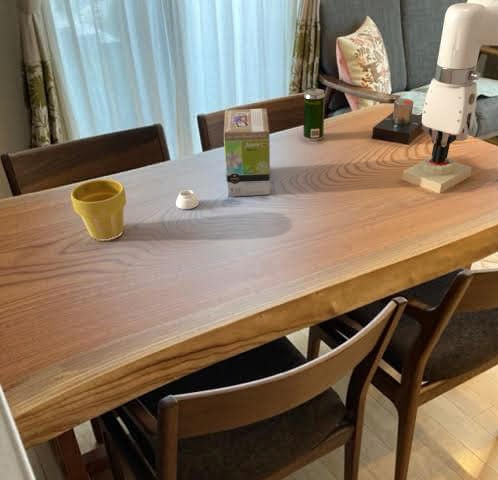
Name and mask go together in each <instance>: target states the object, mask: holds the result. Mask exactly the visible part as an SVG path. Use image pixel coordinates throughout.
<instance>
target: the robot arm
mask: <svg viewBox="0 0 498 480" xmlns="http://www.w3.org/2000/svg"><path fill="white" fill-rule="evenodd" d="M440 39H441V40H440V44H439V50H438V56H437V61H436V62H437V63H436V67H435V74H434V77H433V78H432V79H431V81H430V84H429V86H428V89H427V93H426V95H425V99H424V104H423V108H422V113H421V115H422V127H421V128H422V129H423V130H424V131H423V132H426V133H428V135H429V137H430V138H431V143H432V150H431V156H432V162H436V163H437V164H439V163H440V162H442V161H444V160H446V158H447V157H448V156H449V150H450V146H451V144H453V143H454V142H463V141H465V140H467V139H468V138H469V137H468V136H469V135H468V134H469V133H468V132H469V131H470V130H472V128H473V125H474V120H475V115H476V108H477V98H478V88H477V87H478V85H477V82H476V81H478V80H479V79H480V78H481V73H480V72H478V71H477V68H478V67H477V64H478V60H479V54H480V49H481V47H482V46H496V47H498V0H467V1H466V2H460V3H459V2H458V3H454V4H452V5H450V6H449V7H447V10H446V11H445V14H444V20H443V26H442V31H441V38H440ZM475 80H476V81H475Z"/></svg>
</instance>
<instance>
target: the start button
mask: <svg viewBox="0 0 498 480" xmlns="http://www.w3.org/2000/svg"><path fill="white" fill-rule="evenodd" d="M447 162H448V161H447V160H444V161H442V162H440V163H439V164H437V163H436V162H432V159H431V164H434V165H440V166H442V165H447Z"/></svg>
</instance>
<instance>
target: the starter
mask: <svg viewBox="0 0 498 480" xmlns="http://www.w3.org/2000/svg"><path fill="white" fill-rule="evenodd" d="M431 159H432V155H431V156H427V157H425V158H424V159H423V161H420V162H419V163H417V164H415V165H413V166H410V167H408V168H407V169H404V170H403V171H402V177H401V181H404V182H407V183H410V184H412V185H415V186H418V187H420V188H423V189H426V190H428V191H430V192H435V193H436V194H441V193H443V192H445V191H446V190H448V189H450V188H452V187H454V186H455V185H457V184H459V183H461V182H463V181H464V180H466V179H468V178H470V177H471V175H472V170H473V167H472V166H469V165H466V164H462V163H460V162H456V161H455V160H453V159H452V158H451V157H448V156H447V158H446V160H447V161H448V162H447V165H442V166H440V165H434V164H431Z"/></svg>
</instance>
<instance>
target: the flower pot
mask: <svg viewBox="0 0 498 480" xmlns="http://www.w3.org/2000/svg"><path fill="white" fill-rule="evenodd" d="M70 199H71V204H72V206H73V209H74V211H75V212H76V214H77V215H79V216H80V218H81V220H82V222H83V224H84V226H85V228H86V230H87V231H88V233H89V235H90V237H91V236H92V237H94V238H97V239H109V238H112V237H115V236H118V235H119V234H120V233H121V232H122V231H123V232H122V234H121V235H120V236H118V237H116V238H114V239H111V240H104V241H103V242H110V241H115V240H117V239H118V238H120V237H121V236H122V235H123V233H124V211H125V210H124V209H125V207H126V204H127V196H126V191H125V187H124V185H123V183H121V182H120V181H118V180H115V179H110V178H97V179H92V180H88V181H84V182H82V183H79V184H78V185H76V186H75V187H74V188H73V189H72V190H71V192H70ZM92 237H91V238H92ZM93 240H94V241H97V242H102V241H101V240H95V239H93Z"/></svg>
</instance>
